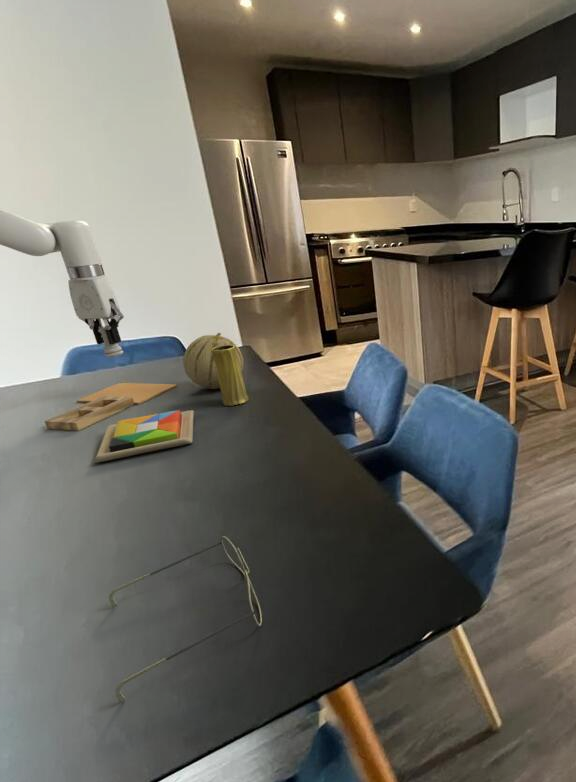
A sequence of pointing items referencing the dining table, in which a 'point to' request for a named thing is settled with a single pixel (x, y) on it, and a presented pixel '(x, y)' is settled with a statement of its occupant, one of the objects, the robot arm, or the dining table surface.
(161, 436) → the wooden puzzle
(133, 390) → the cork mat
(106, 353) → the rook chess piece
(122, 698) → the eyeglasses
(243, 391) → the vase
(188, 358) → the cantaloupe
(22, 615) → the dining table surface
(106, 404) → the holder
